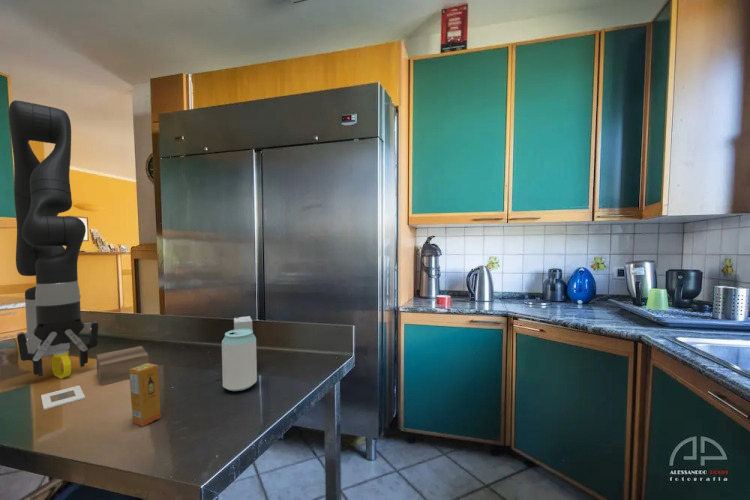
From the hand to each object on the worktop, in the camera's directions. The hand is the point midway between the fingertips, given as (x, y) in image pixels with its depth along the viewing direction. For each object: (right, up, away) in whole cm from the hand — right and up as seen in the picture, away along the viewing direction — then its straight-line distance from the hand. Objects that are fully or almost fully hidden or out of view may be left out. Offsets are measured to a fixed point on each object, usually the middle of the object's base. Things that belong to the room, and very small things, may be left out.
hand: (61, 370), depth 78 cm
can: (+44, -2, -5) cm, 44 cm away
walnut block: (+13, -2, +2) cm, 14 cm away
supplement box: (+33, -3, -19) cm, 38 cm away
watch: (0, -2, 0) cm, 2 cm away
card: (+10, -2, -10) cm, 14 cm away
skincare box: (+41, -1, +7) cm, 41 cm away
